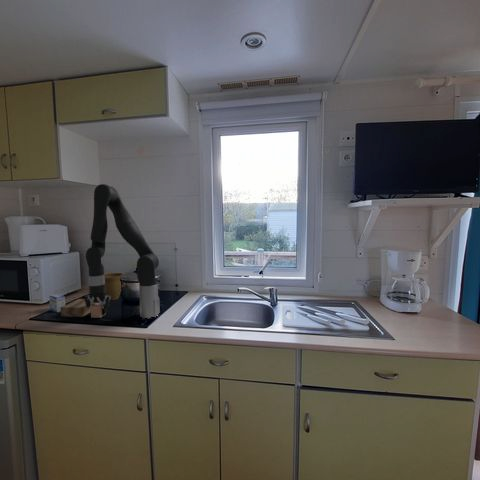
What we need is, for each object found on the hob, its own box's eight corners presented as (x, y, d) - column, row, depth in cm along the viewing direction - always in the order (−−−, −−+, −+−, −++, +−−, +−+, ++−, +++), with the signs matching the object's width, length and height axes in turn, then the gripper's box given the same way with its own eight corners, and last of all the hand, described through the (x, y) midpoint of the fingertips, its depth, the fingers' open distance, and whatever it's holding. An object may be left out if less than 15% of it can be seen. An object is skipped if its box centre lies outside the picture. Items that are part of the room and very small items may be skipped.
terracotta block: (106, 314, 134) (105, 303, 133) (100, 317, 129) (99, 306, 128) (97, 313, 134) (96, 303, 133) (91, 317, 129) (90, 306, 128)
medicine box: (49, 310, 140) (48, 295, 140) (58, 307, 144) (57, 293, 144) (57, 312, 137) (56, 297, 136) (65, 310, 141) (65, 295, 140)
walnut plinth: (98, 307, 145) (98, 299, 144) (82, 316, 131) (82, 307, 130) (79, 307, 145) (78, 298, 145) (61, 316, 131) (60, 307, 131)
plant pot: (129, 298, 162) (128, 274, 161) (105, 304, 150) (104, 278, 149) (118, 294, 171) (117, 271, 170) (95, 299, 159) (94, 275, 158)
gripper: (114, 281, 133) (115, 312, 135) (88, 281, 134) (90, 312, 135) (106, 285, 126) (107, 317, 127) (79, 285, 126) (80, 317, 128)
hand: (98, 314), depth 131 cm, fingers closed on terracotta block, 5 cm apart
